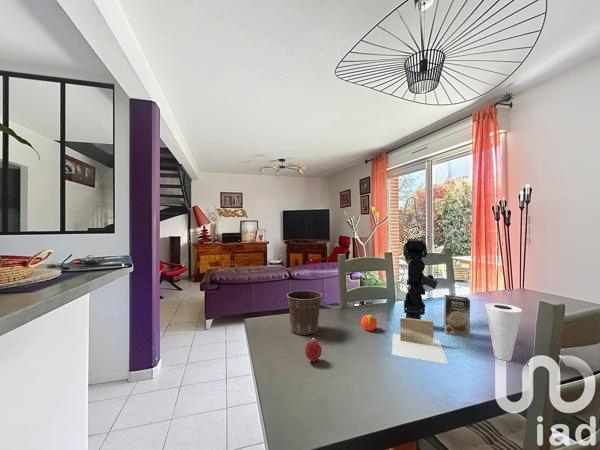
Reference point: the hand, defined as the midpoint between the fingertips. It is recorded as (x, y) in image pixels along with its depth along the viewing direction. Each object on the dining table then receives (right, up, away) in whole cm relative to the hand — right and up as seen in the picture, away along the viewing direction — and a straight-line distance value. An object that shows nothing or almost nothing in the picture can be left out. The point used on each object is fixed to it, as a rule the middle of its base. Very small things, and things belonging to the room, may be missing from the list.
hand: (415, 306), depth 111 cm
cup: (+24, -13, -18) cm, 32 cm away
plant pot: (-47, -13, +7) cm, 49 cm away
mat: (-4, -13, -10) cm, 17 cm away
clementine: (-18, -13, +6) cm, 23 cm away
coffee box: (+19, -13, +2) cm, 23 cm away
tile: (-2, -12, -6) cm, 14 cm away
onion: (-44, -13, -20) cm, 51 cm away
